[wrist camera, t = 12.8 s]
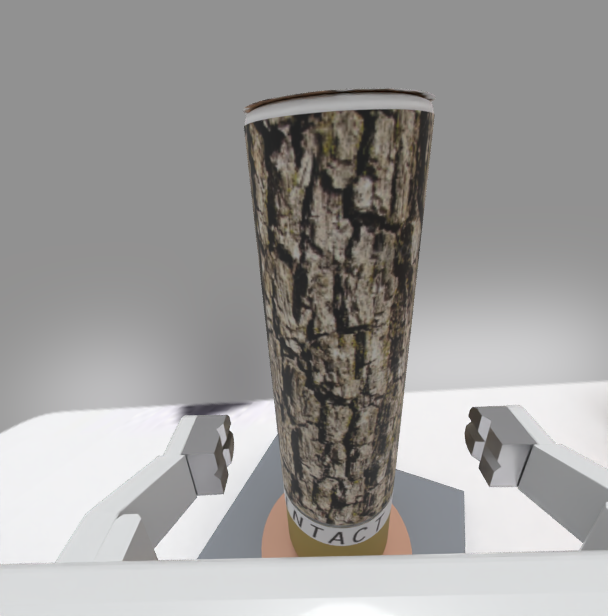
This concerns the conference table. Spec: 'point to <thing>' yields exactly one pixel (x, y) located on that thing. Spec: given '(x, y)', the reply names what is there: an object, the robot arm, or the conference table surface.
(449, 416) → the conference table surface
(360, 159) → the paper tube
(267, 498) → the card
